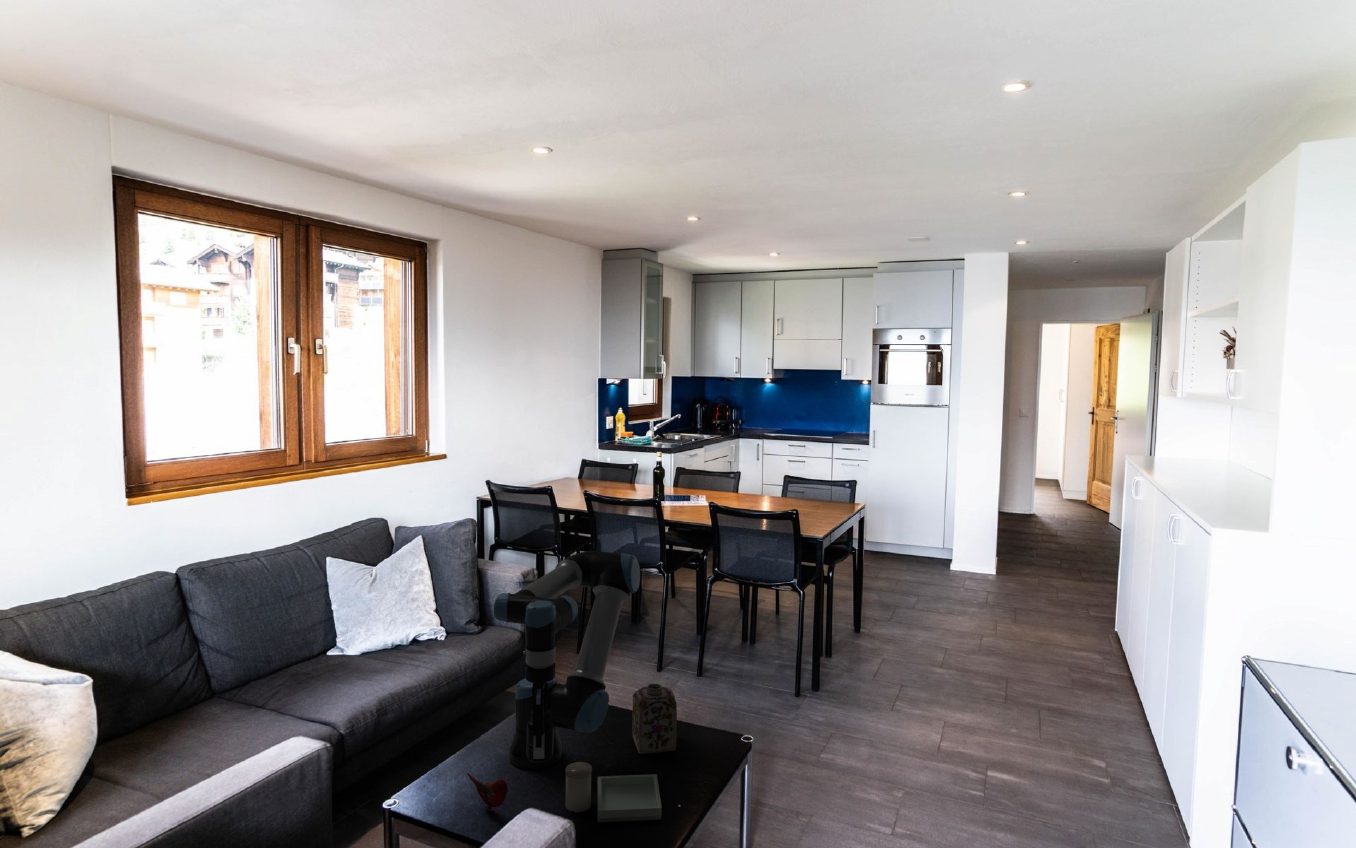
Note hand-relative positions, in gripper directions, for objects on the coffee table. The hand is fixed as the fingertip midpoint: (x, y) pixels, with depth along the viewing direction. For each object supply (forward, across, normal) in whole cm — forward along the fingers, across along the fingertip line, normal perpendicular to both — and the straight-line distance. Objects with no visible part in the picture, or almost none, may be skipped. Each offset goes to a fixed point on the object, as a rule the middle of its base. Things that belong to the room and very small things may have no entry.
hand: (540, 750), depth 190 cm
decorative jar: (+16, -31, +32) cm, 47 cm away
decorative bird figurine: (+15, 0, -13) cm, 20 cm away
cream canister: (+15, 0, +10) cm, 18 cm away
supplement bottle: (+2, 0, 0) cm, 2 cm away
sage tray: (+15, 0, +23) cm, 27 cm away
